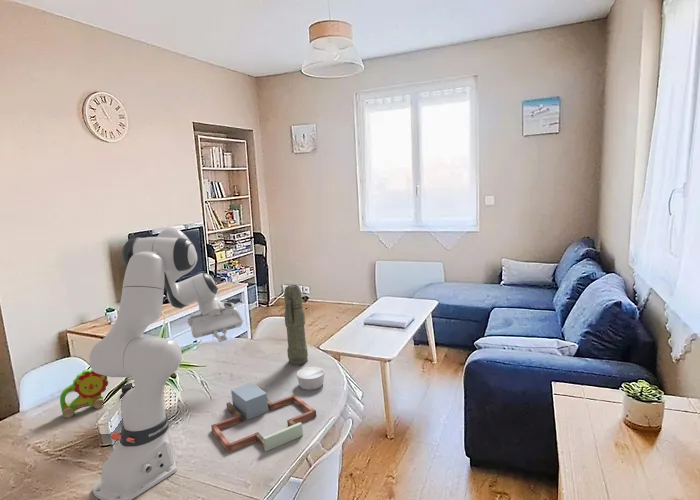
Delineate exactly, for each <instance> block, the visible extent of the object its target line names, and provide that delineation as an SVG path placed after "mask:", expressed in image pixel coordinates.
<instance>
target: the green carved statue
mask: <svg viewBox="0 0 700 500" xmlns="http://www.w3.org/2000/svg"><path fill="white" fill-rule="evenodd" d="M283 297H284V299H283V300H284V306H285V307H284V310H285V311H284V313H283V315H284V325H285V327H286V336H287V359H288V364H289V365H290V366H294V365H295V366H296V365H298V366H302V365H305V364H307V363H308V361H309V360H308V359H309V358H308V356H309V354H308V346H307V343H306V332H305V325H306V318H305V311H304V308H303V298H302V291H301V289H300V285H299V286H298V285H297V284H291V285H287V286H286V287H284V292H283Z"/></svg>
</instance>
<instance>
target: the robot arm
mask: <svg viewBox="0 0 700 500" xmlns="http://www.w3.org/2000/svg"><path fill="white" fill-rule="evenodd" d="M121 258H122V261H123V264H124V265H125V266H126V269H125V273H124V277H123V282H122V291H121V297H120V303H119V309H118V314H117V316H116V319H115V321H114V324H113V325H112V327H111V328H110V330H109V332H108V333H107V334H106V335H105V337H103V338H102V339H101V340H99V341H98V342H97V343H96V344H94V345H93V347H92V348H91V351H90V354H89V358H88V359H89V366H90V368H91V369H92V370H93V371H94V372H95V373H97V374H100V375H104V376H107V378H108V377H109V378H132V379H133V382H134V383H135V386H134V388H132V389H130V390H129V391H128V392H127V393H126V394H125V395H124V396H123V398H122V400H121V406H120V412H121V411H122V414H121V418H122V417H123V419H122V423H123V425H122V427H121V433H120V432H116V431H113V433H111V435H110V439H111V440H112V441H116V442H117V441H119V443H118V444H117V445H116V446H115V448H114V450H113V451H112V452H111V454H110V455H109V457H108V458H107V459H106V461H105V462H104V463H103V465H102V468H101V473H100V476H101V478H100V480H99V481H97V482H96V483H95V484H94V485H93V486H92V493H94V494H93V495H94V496H95V498H97V499H99V500H133V499H135V498H137V497H138V496H140V495H141V494H143V493H145V492H146V491H148V490H149V489H151V488H152V487H154V486H156V485H157V484H159V483H160V482H162V481H164V480H165V479H166V478H167V479H168V477H171V476H172V474H175V473H176V472H177V470H178V468H177V462H178V459H179V458H178V454H177V453H176V450H175V449H174V446H173V443H172V439H171V436H170V432H169V427H170V424H169V417H168V414H167V412H166V408H165V407H166V406H165V395H164V394H165V386H166V383H167V382H168V379H169V378H170V377H171V376H172V375H173V374H174V373H176V371H177V370H178V368H179V367H180V365H181V363H182V359H183V358H182V355H183V353H182V349H181V347H180V345H179V344H178V342H177V341H175V340H173V339H168V338H163V337H157V336H156V337H144V334H145V331H146V330H147V328H148V327H149V325H151V324H153V323H155V322H157V321H158V320H159V319H160V318H161V315H162V313H163V303H164V292H165V290H166V297H167V300H168V302H169V304H170V305H171V307H173V308H175V309H176V308H177V309H180V310H181V309H183V308H185V307H187V306H188V305H190V304H192V303H195V302H196V303H197V304H198V309H199V312H200V314H196V315H192V316H190V317H189V318H188V319H187V324H188V325H189V327H190V329H191V330H190V331H191V335H192V337H193V338H194V339H198V338H202V337H205V336H210V335H213V337H214V338H216V339H217V340H218V343H221V342H224V341H227V331H229V330H233V329H237V328H241V327H242V325H243V323H244V322H243V321H244V320H243V317H242V315H241V314H240V312H239V310H238V309H237V308H235V303H233V302H225V301H221V300H220V298H219V297H218V286H217V284H216V281H215V279H214V277H213V276H212V274H209V273H206V272H201V273H198V274H196V275H193V276H191V277H189V278H186V279H184V280H181V281H178V282H176V281H177V280H179V279H180V278H182V277H184V276H185V275H187V274H189V273H190V272H191V271H193V269H194V268H195V267H196V265H197V262H198V253H197V251H196V247H195V244H194V243H193V241H191V240H190V239H189V237H188V236H187V235H186V234H185V233H184V232H183V231H181V230H180V229H178V228H176V227H175V228H173V227H168V228H165V229H163V230H161V231H160V232H159V234H158V235H157V236H147V237H141V236H139V237H133V238H130V239H128V240H127V241H126V242H125V243H124V245H123V246H122V250H121ZM218 333H222V334H223V335H222V334H221V335H220V334H218ZM91 369H90V370H91Z"/></svg>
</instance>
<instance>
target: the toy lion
mask: <svg viewBox="0 0 700 500" xmlns="http://www.w3.org/2000/svg"><path fill="white" fill-rule="evenodd" d="M108 385H109V380H108V376H104V375H100V374H97V373H95V372H94V371H93V370H92V369H84V370H83V371H82V372H80V373H78V374H77V375H76V376H75V378H74V379H73V381H72V384H70V385H68V386H67V387H65V388H64V389H63V391H62V392H61V394H60V397H59V398H60V399H59V403H60V408H61V413H62V416H63V418H66V419H70V418H72V417H73V416H74V415H75V412H76V411H78V410H80V409H83V408H86V407H94V408H95V409H98V410H100V409H102V408H103V407H104V406H105V405H103V406H102V403H103V401H105V400H104V397H103V395H102V393H104V392H105V391H106V390H107V387H108ZM72 392H74V393H77V395H78V396H77V397H76V398H74V399H73V400H72V402H71V403H70V402H68V403H67V402H66V397H67V395H68V394H69V393H72Z"/></svg>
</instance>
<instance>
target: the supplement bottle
mask: <svg viewBox="0 0 700 500" xmlns="http://www.w3.org/2000/svg"><path fill="white" fill-rule="evenodd" d="M132 383H133V382H129V383H125V384H126V385H125V384H123V385H124V386H123V385H122V386H123V387H122V386H121V387H122V388H121V394H120V396H119V400H120V399H121V398H122V397H123V396H124V395H125V394H126V393H127V392H128V391H129V390H130V389H131V387H132Z"/></svg>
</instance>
